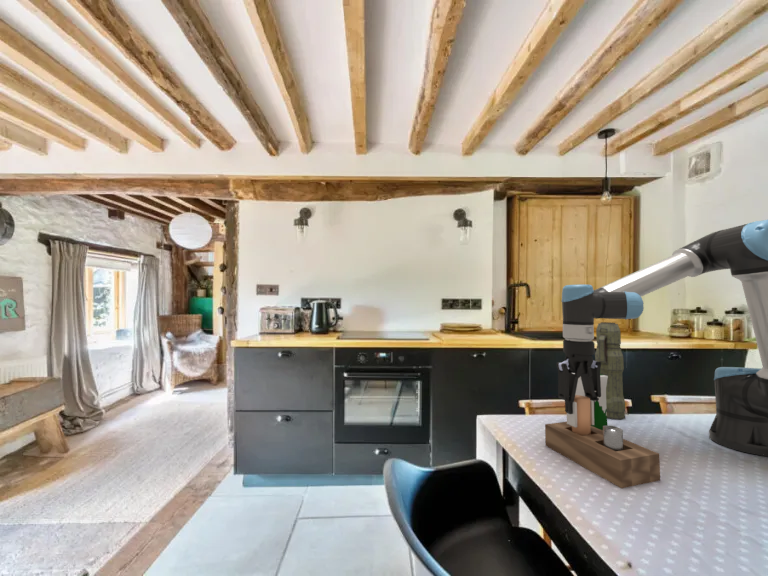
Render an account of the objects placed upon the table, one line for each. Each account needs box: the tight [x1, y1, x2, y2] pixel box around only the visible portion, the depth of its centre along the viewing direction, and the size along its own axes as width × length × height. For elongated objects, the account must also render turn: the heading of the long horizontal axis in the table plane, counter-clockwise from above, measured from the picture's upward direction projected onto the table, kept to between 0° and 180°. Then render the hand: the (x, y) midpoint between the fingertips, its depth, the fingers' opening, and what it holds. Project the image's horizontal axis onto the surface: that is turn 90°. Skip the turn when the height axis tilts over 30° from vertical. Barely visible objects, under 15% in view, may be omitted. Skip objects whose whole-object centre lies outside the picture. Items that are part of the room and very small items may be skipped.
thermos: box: [594, 321, 626, 421], centre depth 120 cm, size 9×12×35 cm
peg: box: [572, 395, 591, 436], centre depth 87 cm, size 4×4×15 cm
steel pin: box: [603, 425, 624, 451], centre depth 78 cm, size 4×4×10 cm
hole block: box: [544, 421, 661, 489], centre depth 82 cm, size 12×22×7 cm, turn 16°
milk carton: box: [573, 373, 608, 430], centre depth 108 cm, size 9×9×20 cm
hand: (580, 424), depth 87 cm, fingers open, 5 cm apart
